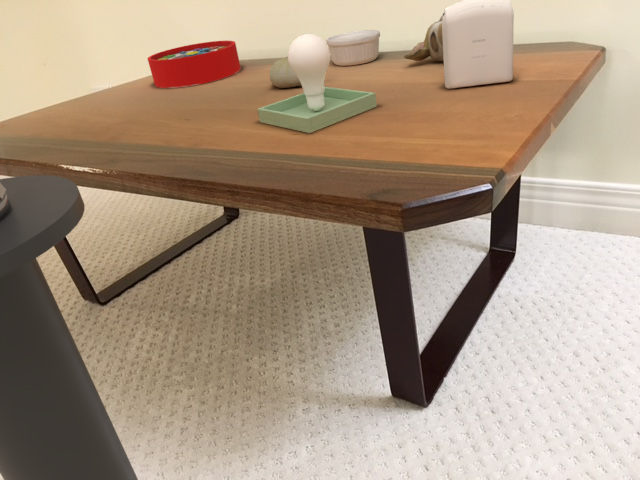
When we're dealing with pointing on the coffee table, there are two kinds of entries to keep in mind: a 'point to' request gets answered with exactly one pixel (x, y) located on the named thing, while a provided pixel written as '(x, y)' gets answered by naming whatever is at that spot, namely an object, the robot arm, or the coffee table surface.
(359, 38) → the ramekin
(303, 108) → the tray
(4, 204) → the robot arm
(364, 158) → the coffee table surface
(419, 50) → the ceramic sculpture
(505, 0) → the photo printer
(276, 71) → the sea urchin shell
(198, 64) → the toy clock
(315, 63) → the lightbulb
